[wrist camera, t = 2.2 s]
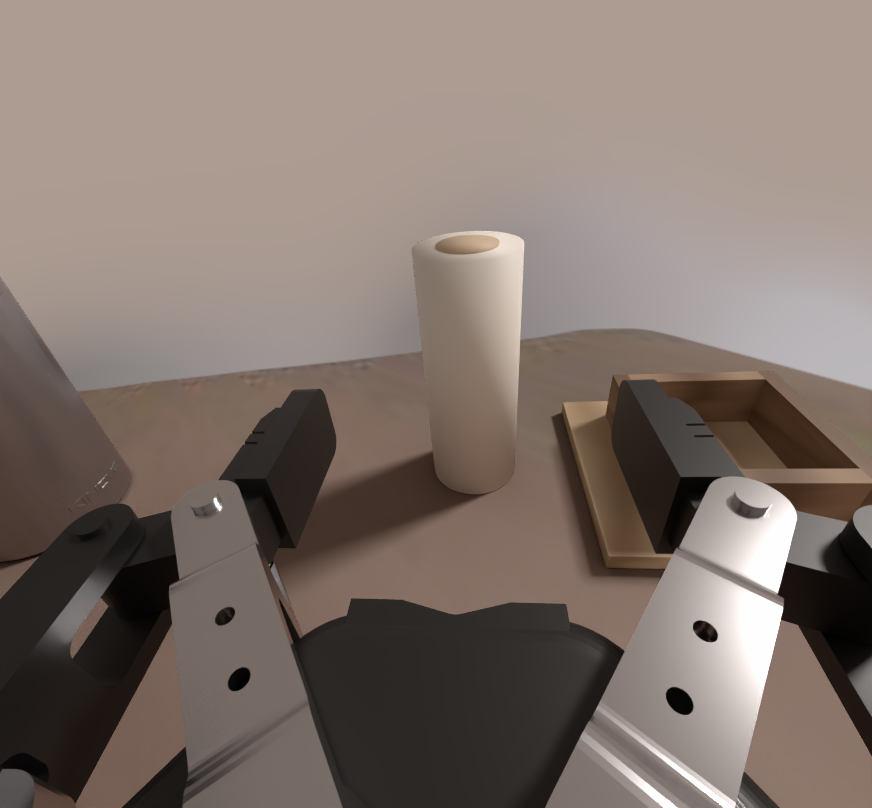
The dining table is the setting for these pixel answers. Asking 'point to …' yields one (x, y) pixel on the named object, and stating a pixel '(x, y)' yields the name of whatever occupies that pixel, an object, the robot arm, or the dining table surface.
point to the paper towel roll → (471, 353)
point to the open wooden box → (740, 437)
